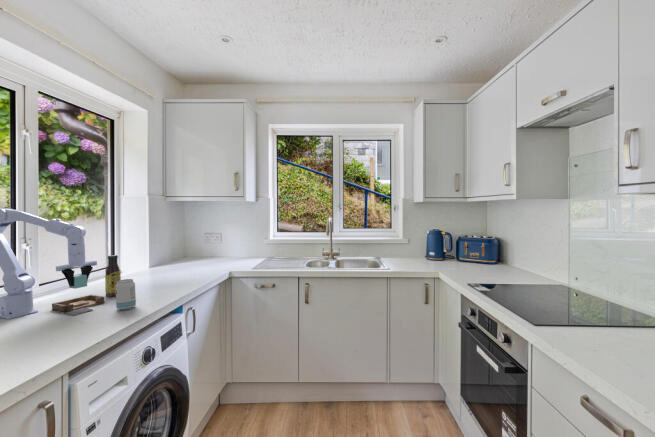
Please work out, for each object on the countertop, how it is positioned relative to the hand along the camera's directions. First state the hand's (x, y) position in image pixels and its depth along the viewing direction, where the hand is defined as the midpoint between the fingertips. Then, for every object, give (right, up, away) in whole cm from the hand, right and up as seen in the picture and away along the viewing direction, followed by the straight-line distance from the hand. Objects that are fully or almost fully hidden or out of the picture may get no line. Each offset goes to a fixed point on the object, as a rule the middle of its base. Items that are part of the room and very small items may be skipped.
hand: (78, 284), depth 134 cm
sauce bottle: (+2, -10, +19) cm, 21 cm away
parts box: (-1, -10, +2) cm, 10 cm away
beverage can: (+23, -10, -3) cm, 25 cm away
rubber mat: (+5, -10, -6) cm, 13 cm away
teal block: (0, -1, 0) cm, 1 cm away
